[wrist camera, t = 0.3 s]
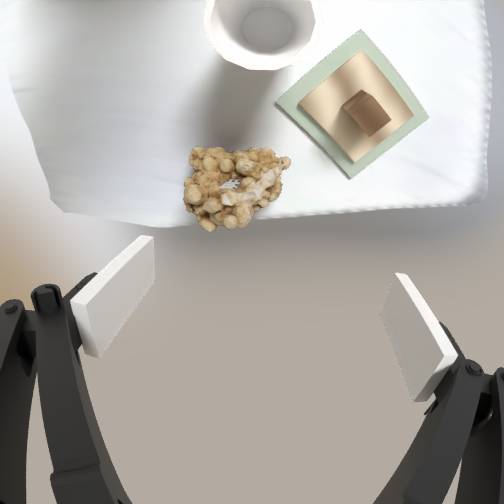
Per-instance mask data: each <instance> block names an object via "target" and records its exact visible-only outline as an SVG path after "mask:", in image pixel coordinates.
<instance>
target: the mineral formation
mask: <svg viewBox="0 0 504 504" xmlns="http://www.w3.org/2000/svg"><path fill="white" fill-rule="evenodd" d="M189 163H190V165H191V166H193V168H194V169H195V173H194V174H193V175H192V178H189V177H188V178H187V179H186V181H185V182H184V186H185V192H184V198H183V200H184V203H185V205H186V210H187V211H188V212H192V213H194V214H196V218H197V219H198V220H201V221H200V222H199V223H198V224H199V225H200V226H201V227H202V228H203V229H205V230H206V231H208V232H213V231H214V230H215V229H216V227H217V225H221V226H225V227H226V228H227V229H228V230H234V229H235V228H236V227H239V228H244V227H245V226H246V225H247V224H248V223H249V222H250V220H251V219H252V217H253V212H255V211H258V210H259V209H260V208H264V207H266V206H268V203H269V201H270V202H272V201H274V200H276V199H277V198H278V197H279V195H280V193H281V190H282V187H281V186H282V185H283V184H282V183H281V181H280V179H281V177H280V175H281V173H282V170H284V169H287V168H289V166H290V164H291V159H290V158H288V157H280V158H278V157H275V153H274V152H273V151H272V149H270V148H260V149H256V148H255V147H252V148H249V150H248V151H241V150H235V151H234V152H233V153H229V152H225V149H224V148H223V147H215V148H207V149H205V148H204V147H200V146H196V147H194V148H193V149H192V151H191V155H190V156H189Z"/></svg>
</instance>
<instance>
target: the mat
mask: <svg viewBox="0 0 504 504" xmlns="http://www.w3.org/2000/svg"><path fill="white" fill-rule="evenodd" d="M360 50H363V51H364V52H365V53H366V54H367V55H368V56H369V57H370V58H371V60H372V61H373V62H374V63H375V64H376V65H377V67H378V68H379V69H380V70H381V71H382V73H383V74H384V75H385V76H386V78H387V79H388V80H389V81H390V83H391V84H392V85H393V87H394V88H395V89H396V91H397V92H398V93H399V95H400V96H401V97H402V99H403V100H404V101H405V103H406V104H407V106H408V107H409V108H410V110H411V111H412V113H413V114H414V116H413V117H412V118H410V119H409V120H408V121H407V122H405V123H404V124H403V125H402V126H400V127H399V128H398V129H397V130H395V131H394V132H393V133H392V134H390V135H389V136H388V137H386V138H385V139H384V140H383V141H381V142H380V143H379V144H378V145H376V146H375V147H374V148H373V149H371V150H370V151H369V152H368V153H366V154H365V155H364V156H363V157H361V158H360V159H359V160H358V161H356V162H354V161H353V160H352V159H351V158H350V156H349V155H348V154H347V153H346V152H345V151H344V150H343V149H342V147H341V146H340V145H339V144H338V143H337V142H336V141H335V140H334V139H333V138H332V137H331V136H330V134H329V133H328V132H327V131H326V130H325V129H324V128H323V127H322V126H321V125H320V124H319V123H318V122H317V121H316V120H315V119H314V118H313V117H312V116H311V115H310V114H309V113H308V112H307V111H306V110H305V109H304V108H303V107H302V106H301V105H300V104H299V103H298V102H299V101H300V100H302V99H303V98H304V97H305V96H306V95H307V94H308V93H309V92H311V91H312V90H313V89H314V88H315V87H316V86H318V85H319V84H320V83H321V82H322V81H323V80H325V79H326V78H327V77H328V76H329V75H330V74H332V73H333V72H334V71H335V70H336V69H338V68H339V67H340V66H341V65H343V64H344V63H345V62H346V61H347V60H349V59H350V58H351V57H352V56H354V55H355V54H356V53H357V52H359V51H360ZM276 103H277V104H278V105H279V106H281V107H282V108H283V109H284V110H285V111H286V112H287V113H288V114H289V115H290V116H291V117H292V118H293V119H294V120H296V121H297V122H298V123H299V124H300V125H301V126H302V127H303V128H304V129H305V130H306V131H307V132H308V133H309V134H310V135H311V136H312V137H313V138H314V139H315V140H316V141H317V142H318V143H319V144H320V145H321V146H322V147H323V148H324V149H325V150H326V151H327V153H328V154H329V155H330V156H331V157H332V158H333V159H334V160H335V161H336V162H337V163H338V164H339V165H340V166H341V168H342V169H343V170H344V171H345V172H346V173H347V174H348V175H349V176H350V177H351V178H353V177H354V176H355V175H357V174H358V173H359V172H360V171H362V170H363V169H364V168H365V167H367V166H368V165H369V164H371V163H372V162H373V161H374V160H376V159H377V158H378V157H379V156H381V155H382V154H383V153H385V152H386V151H387V150H388V149H390V148H391V147H392V146H393V145H395V144H396V143H397V142H398V141H400V140H401V139H402V138H404V137H405V136H406V135H407V134H409V133H410V132H411V131H412V130H414V129H415V128H416V127H418V126H419V125H420V124H421V123H423V122H424V121H425V120H426V119H428V118H429V116H428V115H427V113H426V111H425V110H424V108H423V107H422V105H421V104H420V102H419V101H418V99H417V98H416V96H415V95H414V94H413V92H412V91H411V89H410V88H409V87H408V85H407V84H406V82H405V81H404V80H403V78H402V77H401V76H400V74H399V73H398V72H397V71H396V69H395V68H394V67H393V65H392V64H391V63H390V62H389V60H388V59H387V58H386V57H385V56H384V54H383V53H382V52H381V51H380V50H379V49H378V47H377V46H376V45H375V44H374V43H373V42H372V41H371V39H370V38H369V37H368V36H367V35H366V34H365V33H364V32H363V31H362V30H361V29H360V30H359V31H357V32H356V33H355V34H353V35H352V36H351V37H350V38H348V39H347V40H346V41H345V42H343V43H342V44H341V45H340V46H338V47H337V48H336V49H335V50H333V51H332V52H331V53H330V54H329V55H327V56H326V57H325V58H324V59H323V60H321V61H320V62H319V63H318V64H317V65H316V66H314V67H313V68H312V69H311V70H310V71H309V72H307V73H306V74H305V75H304V76H303V77H302V78H301V79H300V80H298V81H297V82H296V83H295V84H294V85H293V86H292V87H291V88H290V89H288V90H287V91H286V92H285V93H284V94H283V95H282V96H281V97H280V98H279V99H278V100H277V101H276Z"/></svg>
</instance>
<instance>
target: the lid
mask: <svg viewBox="0 0 504 504" xmlns="http://www.w3.org/2000/svg"><path fill="white" fill-rule="evenodd" d="M298 103H299V104H300V105H301V106H302V107H303V108H304V109H305V110H306V111H307V112H308V113H309V114H310V115H311V116H312V117H313V118H314V119H315V120H316V121H317V122H318V123H319V124H320V125H321V126H322V127H323V128H324V129H325V130H326V131H327V132H328V133H329V134H330V136H331V137H332V138H333V139H334V140H335V141H336V142H337V143H338V144H339V145H340V146H341V147H342V149H343V150H344V151H345V152H346V153H347V154H348V155H349V156H350V158H351V159H352V160H353V161H354V162H356V161H358V160H359V159H360V158H361V157H363V156H364V155H365V154H366V153H368V152H369V151H370V150H371V149H373V148H374V147H375V146H376V145H378V144H379V143H380V142H381V141H383V140H384V139H385V138H386V137H388V136H389V135H390V134H392V133H393V132H394V131H395V130H397V129H398V128H399V127H400V126H402V125H403V124H404V123H405V122H407V121H408V120H409V119H410V118H412V117H413V116H414V114H413V113H412V111H411V110H410V108H409V107H408V106H407V104H406V103H405V101H404V100H403V99H402V97H401V96H400V95H399V93H398V92H397V91H396V89H395V88H394V87H393V85H392V84H391V83H390V81H389V80H388V79H387V78H386V76H385V75H384V74H383V73H382V71H381V70H380V69H379V68H378V67H377V65H376V64H375V63H374V62H373V61H372V60H371V58H370V57H369V56H368V55H367V54H366V53H365V52H364V51H363V50H360V51H359V52H357V53H356V54H355V55H354V56H352V57H351V58H350V59H349V60H347V61H346V62H345V63H344V64H343V65H341V66H340V67H339V68H338V69H336V70H335V71H334V72H333V73H332V74H330V75H329V76H328V77H327V78H326V79H325V80H323V81H322V82H321V83H320V84H319V85H318V86H316V87H315V88H314V89H313V90H312V91H311V92H309V93H308V94H307V95H306V96H305V97H304V98H303V99H302V100H300V101H299V102H298Z"/></svg>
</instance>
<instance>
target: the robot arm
mask: <svg viewBox="0 0 504 504" xmlns="http://www.w3.org/2000/svg"><path fill="white" fill-rule="evenodd" d="M154 267H155V266H154V237H151V236H144V235H140V236H139V237H138V238H137V239H136V240H135V241H134V242H132V243H131V244H130V245H129V246H128V247H127V248H126V249H124V250H123V251H122V252H121V253H120V254H119V255H118V256H117V257H115V258H114V259H113V260H112V261H111V262H110V263H109V264H108V265H107V266H106V267H104V269H102V270H101V271H100V272H99V273H95V272H94V273H92V274H90V275H88V276H86V277H85V278H84V279H82V280H81V281H80V282H79V284H77V285H76V286H75V287H74V288H73V289H72V290H71V291H70V292H69V293H67V294H66V295H65V296H64V297H63V298H62V296H61V291H60V288H59V287H58V286H57V285H54V284H44V285H41V286H39V287H37V288H35V289H34V290H33V292H32V293H31V299H32V302H33V305H34V309H35V311H31V310H25V308H24V305H23V302H22V301H20V300H16V299H13V300H9V301H6V302H5V303H3V304H2V305H1V306H0V504H26V453H27V439H28V428H29V418H30V410H31V403H32V397H33V390H34V385H35V379H36V374H37V373H38V385H39V394H40V402H41V409H42V416H43V422H44V428H45V433H46V438H47V443H48V448H49V452H50V456H51V460H52V464H53V469H54V472H53V473H52V474H51V475H50V481H51V486H52V489H53V493H54V496H55V499H56V502H57V504H132V502H131V501H130V499H129V498H128V496H127V494H126V492H125V491H124V489H123V486H122V484H121V482H120V480H119V478H118V475H117V473H116V471H115V469H114V466H113V464H112V461H111V459H110V456H109V454H108V451H107V449H106V446H105V443H104V441H103V438H102V435H101V432H100V429H99V426H98V423H97V420H96V417H95V414H94V411H93V407H92V404H91V401H90V397H89V393H88V390H87V386H86V382H85V379H84V374H83V370H82V366H81V361H80V356H79V353H78V348H79V347H80V346H81V344H82V346H83V349H84V351H85V354H87V355H90V356H93V357H95V358H98V359H100V358H101V357H102V355H103V354H104V352H105V350H106V349H107V348H108V346H109V345H110V343H111V342H112V340H113V339H114V337H115V336H116V334H117V333H118V332H119V330H120V329H121V327H122V326H123V324H124V323H125V322H126V320H127V319H128V318H129V316H130V315H131V313H132V312H133V311H134V309H135V308H136V306H137V305H138V304H139V302H140V301H141V299H142V298H143V297H144V295H145V294H146V293H147V291H148V290H149V289H150V287H151V286H152V285H153V283H154V282H155V268H154ZM380 316H381V319H382V321H383V323H384V326H385V328H386V331H387V333H388V336H389V338H390V341H391V343H392V346H393V348H394V351H395V353H396V356H397V359H398V361H399V364H400V367H401V369H402V372H403V375H404V378H405V381H406V383H407V386H408V388H409V392H410V395H411V398H412V401H413V402H423V401H427V400H428V399H429V398H430V396H431V395H432V394H433V392H434V394H435V396H436V399H435V401H434V402H433V403H432V405H431V406H430V407H429V408H428V409H427V411H426V412H425V413H424V415H426V414H427V415H426V418H425V420H424V422H423V424H422V426H421V428H420V430H419V432H418V433H417V435H416V437H415V439H414V441H413V443H412V444H411V446H410V448H409V450H408V451H407V453H406V455H405V456H404V458H403V460H402V461H401V463H400V465H399V467H398V468H397V470H396V471H395V473H394V474H393V476H392V477H391V479H390V480H389V482H388V483H387V485H386V486H385V488H384V489H383V490H382V492H381V493H380V495H379V496H378V497H377V499H376V500H375V501H374V503H373V504H442V503H443V500H444V498H445V496H446V494H447V492H448V490H449V488H450V485H451V483H452V481H453V478H454V476H455V474H456V471H457V469H458V466H459V463H460V461H461V458H462V463H461V470H460V477H459V483H458V489H457V494H456V499H455V504H504V368H502V367H500V368H498V369H497V370H496V372H495V373H494V375H488V374H484V371H483V369H482V368H481V366H480V365H479V364H478V363H476V362H475V361H472V360H469V359H465V357H464V355H463V353H462V352H461V350H460V348H459V346H458V345H457V343H456V342H455V340H454V338H453V337H452V336H451V333H450V332H449V330H448V329H447V328H446V327H445V326H444V325H443V324H442V323H441V322H438V321H437V319H436V318H435V316H434V314H433V313H432V311H431V310H430V308H429V307H428V305H427V304H426V302H425V301H424V299H423V298H422V296H421V295H420V293H419V292H418V290H417V289H416V287H415V286H414V285H413V283H412V282H411V280H410V279H409V277H408V276H407V275H406V274H401V273H394V277H393V280H392V282H391V285H390V288H389V290H388V293H387V296H386V298H385V301H384V303H383V306H382V309H381V311H380ZM491 414H492V416H491V418H490V415H491Z"/></svg>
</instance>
